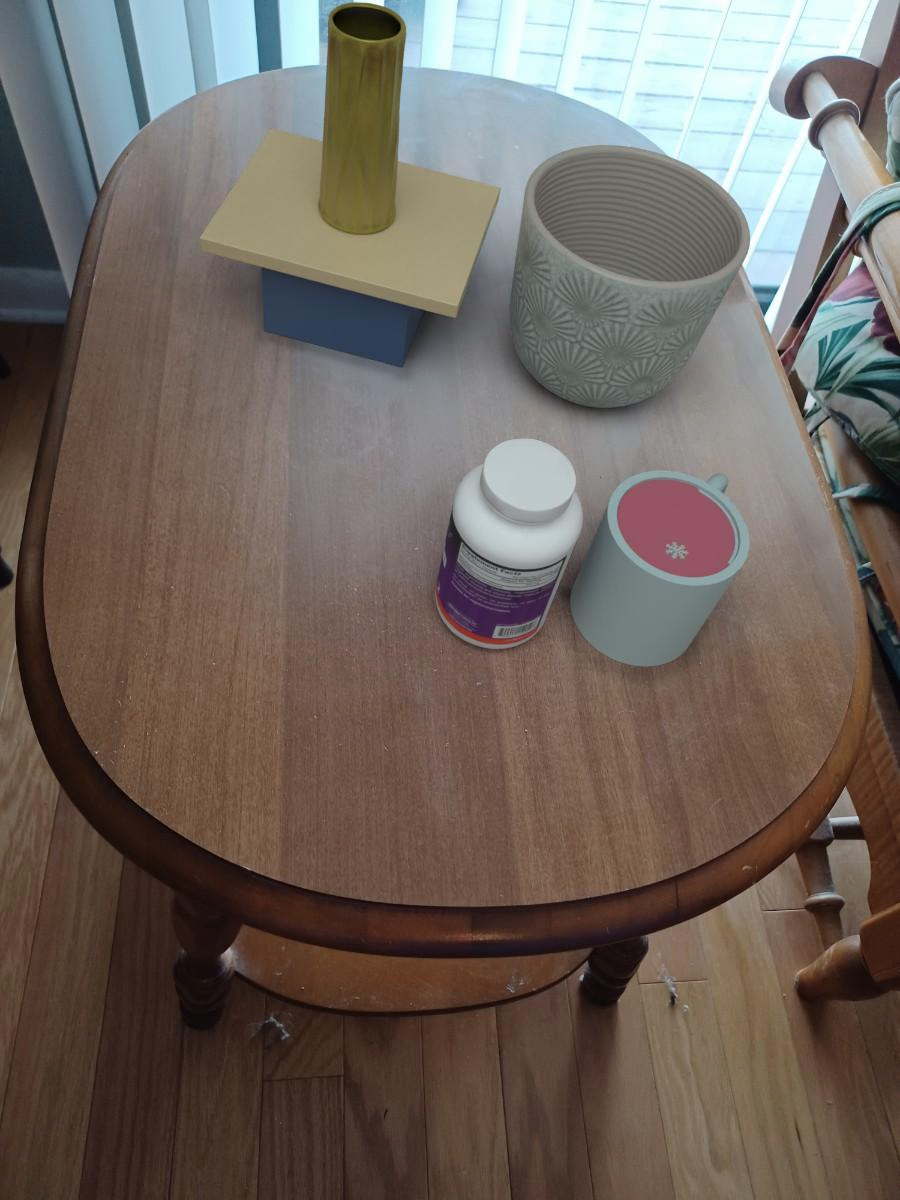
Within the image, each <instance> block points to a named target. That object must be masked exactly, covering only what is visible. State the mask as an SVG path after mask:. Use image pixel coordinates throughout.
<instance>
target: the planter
mask: <svg viewBox="0 0 900 1200" xmlns="http://www.w3.org/2000/svg"><path fill="white" fill-rule="evenodd" d="M520 217H521V218H520V224H519V231H518V239H517V247H516V253H515V261H514V268H513V275H512V281H511V282H512V283H511V289H510V297H509V305H508V306H509V309H508V310H509V328H510V334H511V339H512V342H513V345H514V348H515V350H516V353H517V356H518V358H519V360H520V362H521V363H522V364H523V366H524V368H525V369H526V370H527V371H528V373H529V374H530V375H531V376H532V378H534V379H535V380H536V381H537V382H538V383H539V384H540V385H541V386H542V387H544V388H545V389H546V390H547V391H548V392H550V393H552V394H553V395H555V396H557V397H559V398H561V399H564V400H565V401H568V402H570V403H574V404H577V405H580V406H584V407H590V408H596V409H610V408H612V409H613V408H621V407H626V406H631V405H634V404H637V403H640V402H643V401H645V400H647V399H649V398H650V397H651V398H652V397H653V396H654V395H656V394H657V393H660V391H662V390H663V389H664V388H666V386H668V385H669V384H670V383H671V382H672V381H673V380H674V379H675V378H676V377H677V376H678V375H679V373H681V371H682V370H683V369H684V368H685V366H686V365H687V363H688V362H689V361H690V358H691V357H692V355H693V354H694V353H695V350H696V348H697V347H698V345H699V343H700V341H701V339H702V338H703V336H704V334H705V332H706V331H707V329H708V327H709V325H710V323H711V321H712V320H713V318H714V316H715V314H716V312H717V311H718V308H719V307H720V305H721V303H722V302H723V300H724V298H725V296H726V295H727V292H728V291H729V289H730V288H731V286H732V283H733V281H734V280H735V278H736V276H737V275H738V272H739V271H740V269H741V268H742V265H743V264H744V262H745V260H746V258H747V256H748V253H749V249H750V246H751V245H750V244H751V231H750V228H749V223H748V220H747V218H746V215H745V214H744V212H743V210H742V208H741V206H740V205H739V204H738V202H737V201H736V199H734V198H733V196H731V194H730V193H729V192H728V191H727V190H726V189H725V188H724V187H722V186H721V185H720V184H719V183H717V181H716V180H714V179H712V177H710V176H708V175H707V174H705V173H704V172H702V171H700V170H699V169H697V168H695V167H693V166H691V165H689V164H688V163H685V162H683V161H681V160H678V159H676V158H673V157H671V156H668V155H665V154H663V153H660V152H655V151H653V150H648V149H645V148H638V147H633V146H627V145H617V144H616V145H615V144H612V145H611V144H597V145H595V144H594V145H586V146H579V147H573V148H570V149H568V150H567V149H566V150H564V151H561V152H559V153H556V154H554V155H552V156H550V157H549V158H547V159H546V160H544V161H543V162H541V163H540V164H539V165H538V166H537V167H536V168H535V169H534V171H533V172H532V173H531V174H530V176H529V178H528V180H527V183H526V186H525V189H524V195H523V201H522V209H521V216H520Z"/></svg>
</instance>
